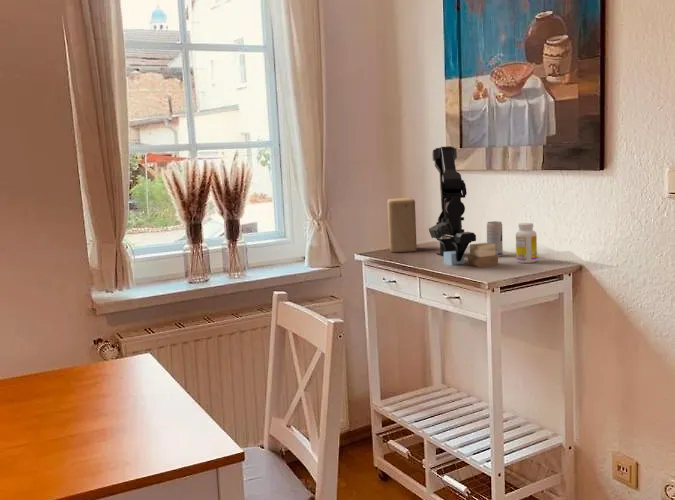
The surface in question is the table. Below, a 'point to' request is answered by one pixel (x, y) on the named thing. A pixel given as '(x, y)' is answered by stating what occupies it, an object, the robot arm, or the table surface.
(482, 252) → the mid block
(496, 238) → the energy drink
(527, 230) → the supplement bottle
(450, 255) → the top block
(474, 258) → the base block
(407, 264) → the table surface
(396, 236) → the wooden block
